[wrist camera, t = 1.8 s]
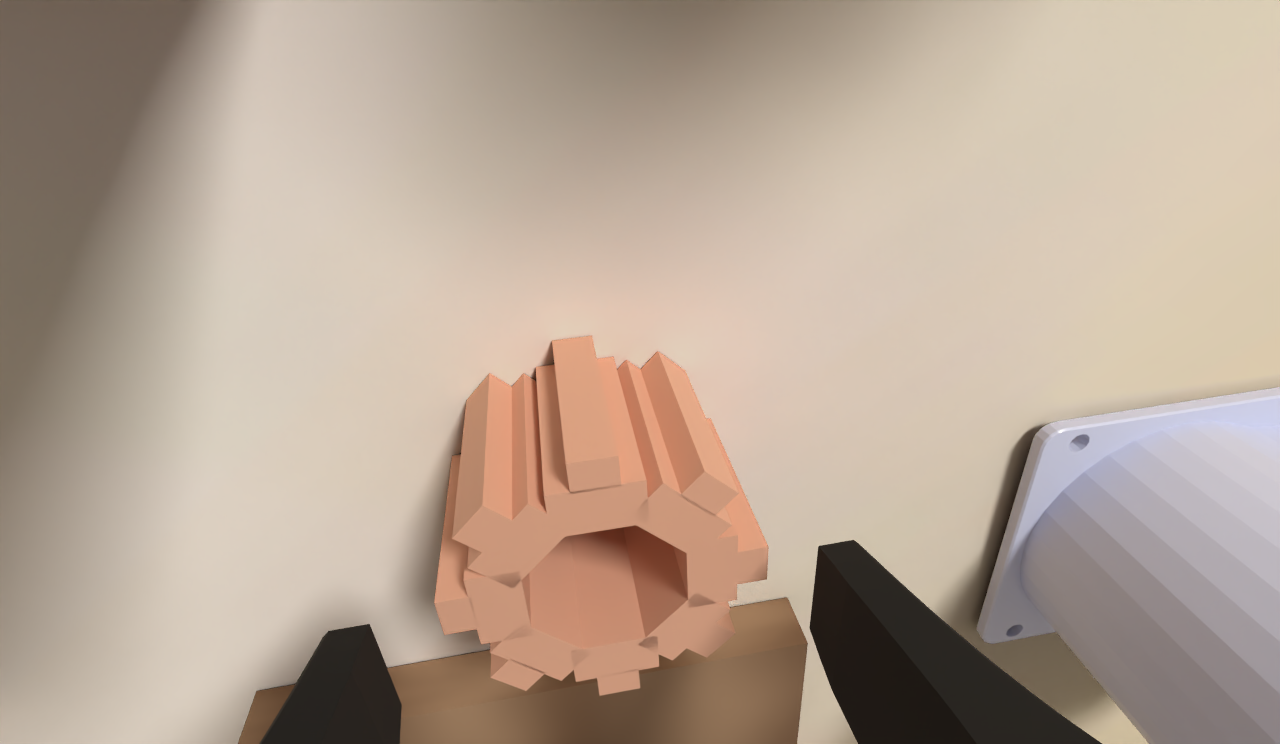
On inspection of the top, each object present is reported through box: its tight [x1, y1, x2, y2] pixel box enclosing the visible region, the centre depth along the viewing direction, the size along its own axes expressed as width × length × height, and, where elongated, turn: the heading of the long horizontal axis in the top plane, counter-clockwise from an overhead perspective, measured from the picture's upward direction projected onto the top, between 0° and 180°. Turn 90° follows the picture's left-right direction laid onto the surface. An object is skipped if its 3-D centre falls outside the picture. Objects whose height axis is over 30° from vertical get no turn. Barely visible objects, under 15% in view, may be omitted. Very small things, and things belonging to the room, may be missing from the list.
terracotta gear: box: [434, 336, 768, 696], centre depth 13 cm, size 6×6×4 cm
